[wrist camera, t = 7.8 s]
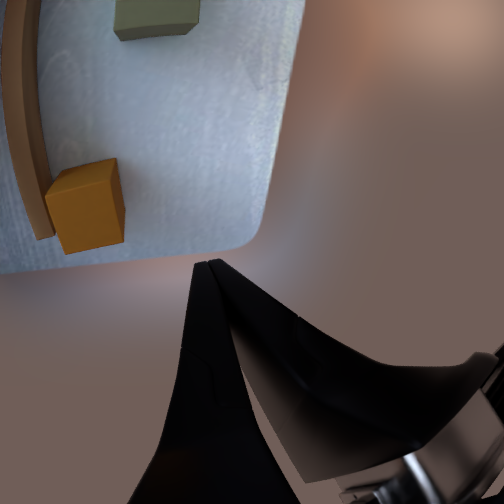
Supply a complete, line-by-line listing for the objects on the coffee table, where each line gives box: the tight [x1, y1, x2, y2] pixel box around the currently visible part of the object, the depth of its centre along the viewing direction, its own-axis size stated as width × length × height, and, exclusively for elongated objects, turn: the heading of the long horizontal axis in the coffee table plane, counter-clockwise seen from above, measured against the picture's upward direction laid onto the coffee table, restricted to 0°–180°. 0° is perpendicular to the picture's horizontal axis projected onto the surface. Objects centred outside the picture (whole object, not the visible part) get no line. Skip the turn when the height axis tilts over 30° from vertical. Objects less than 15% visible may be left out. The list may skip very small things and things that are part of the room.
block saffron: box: [45, 158, 125, 255], centre depth 14 cm, size 4×4×4 cm
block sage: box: [113, 0, 200, 41], centre depth 8 cm, size 4×4×4 cm
